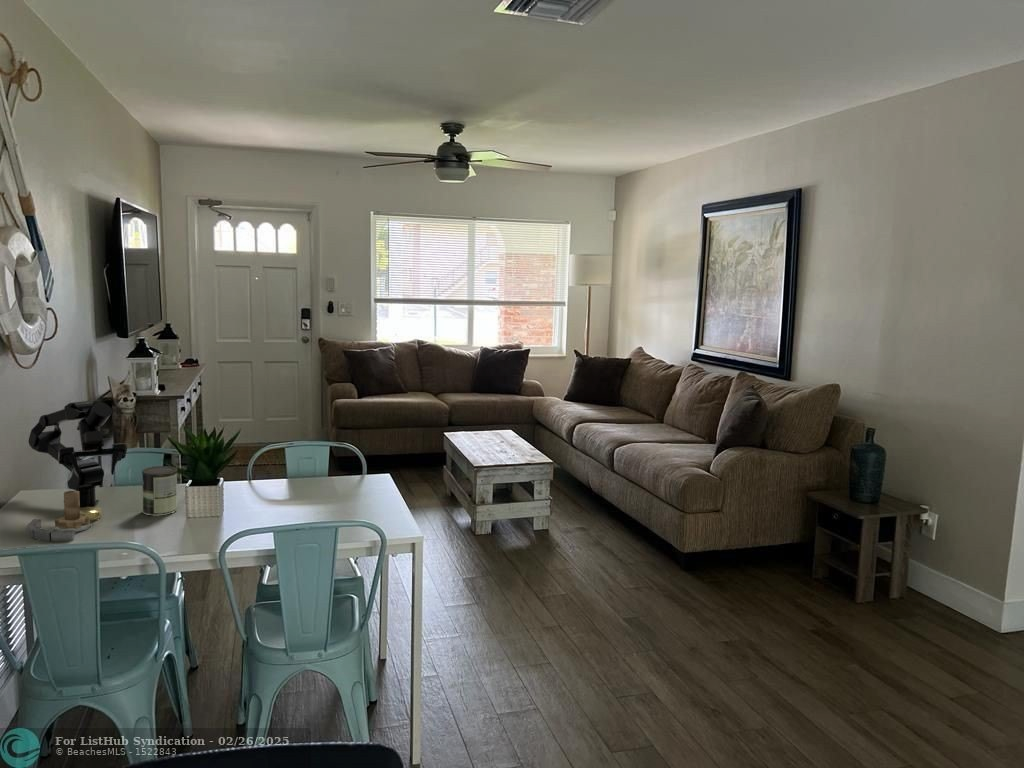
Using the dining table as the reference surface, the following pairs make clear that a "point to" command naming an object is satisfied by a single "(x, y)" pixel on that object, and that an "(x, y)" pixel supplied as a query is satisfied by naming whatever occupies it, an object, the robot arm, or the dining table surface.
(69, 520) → the gear
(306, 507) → the dining table surface
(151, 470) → the coffee can
